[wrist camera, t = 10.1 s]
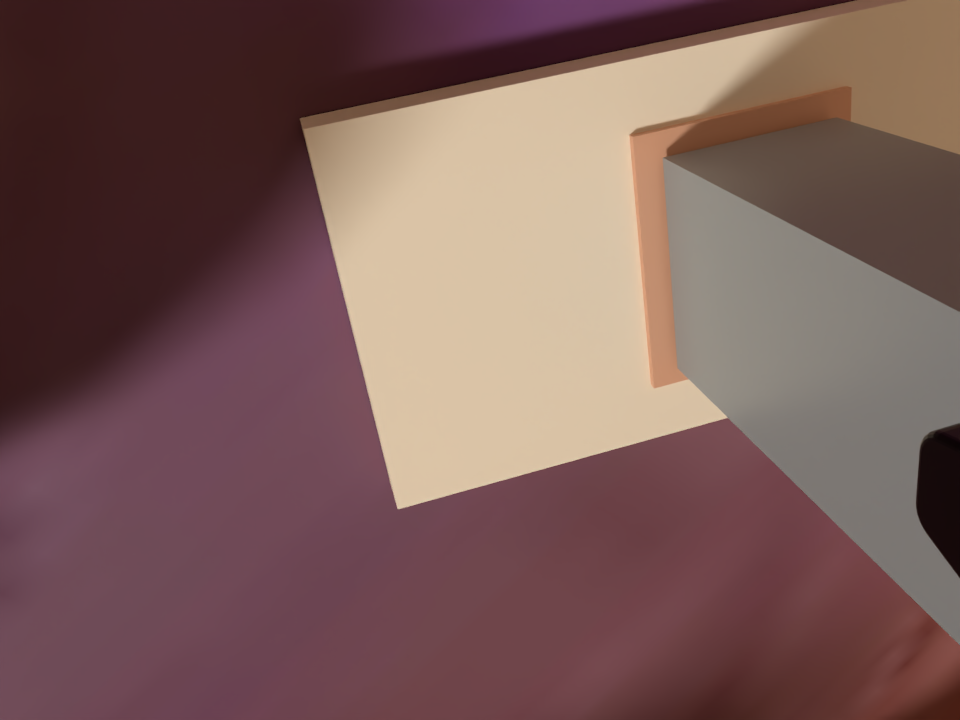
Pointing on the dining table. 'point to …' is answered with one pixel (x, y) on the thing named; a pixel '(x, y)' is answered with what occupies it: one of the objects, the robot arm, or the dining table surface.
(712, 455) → the dining table surface
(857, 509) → the stub
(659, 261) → the pad
